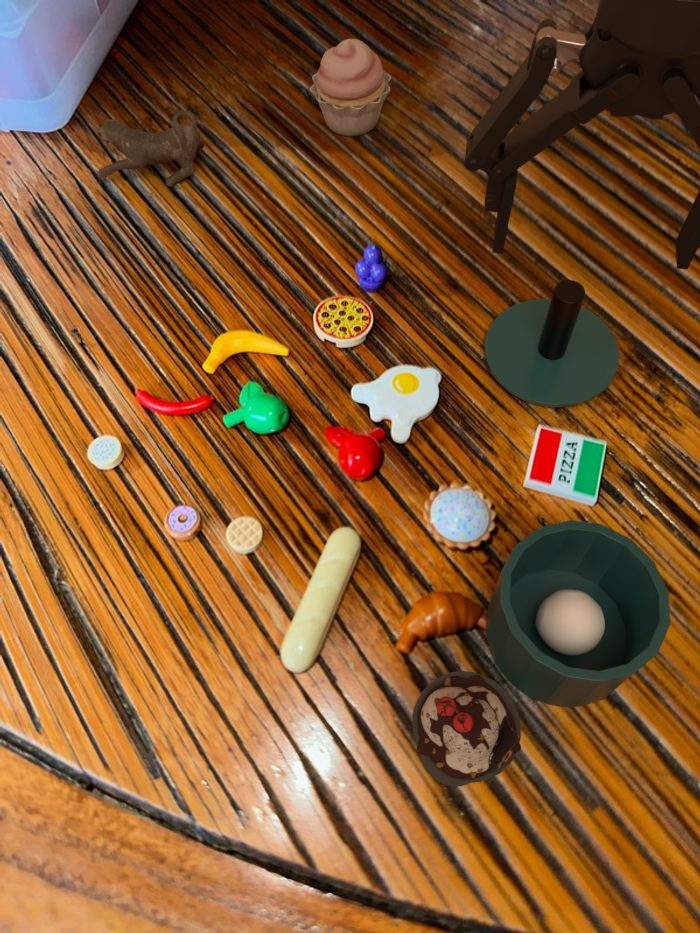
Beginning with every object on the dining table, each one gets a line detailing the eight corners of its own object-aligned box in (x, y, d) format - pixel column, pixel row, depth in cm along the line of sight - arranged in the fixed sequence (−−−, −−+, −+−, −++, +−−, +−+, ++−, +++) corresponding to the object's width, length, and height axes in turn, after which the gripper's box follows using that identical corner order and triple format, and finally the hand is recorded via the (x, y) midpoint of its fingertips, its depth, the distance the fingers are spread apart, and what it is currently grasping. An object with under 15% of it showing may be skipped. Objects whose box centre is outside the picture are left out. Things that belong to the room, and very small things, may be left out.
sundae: (392, 724, 57) (396, 676, 44) (474, 690, 58) (501, 633, 45) (428, 814, 54) (443, 792, 41) (514, 777, 55) (556, 743, 42)
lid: (615, 312, 75) (643, 243, 67) (617, 418, 69) (647, 357, 61) (487, 300, 76) (500, 231, 68) (478, 403, 70) (491, 341, 62)
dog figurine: (211, 152, 89) (197, 93, 82) (206, 186, 86) (192, 129, 79) (109, 154, 89) (87, 97, 82) (101, 189, 86) (78, 132, 80)
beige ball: (593, 605, 60) (610, 583, 56) (597, 666, 58) (614, 648, 53) (530, 600, 61) (542, 577, 56) (531, 660, 58) (543, 642, 54)
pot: (631, 574, 62) (666, 531, 54) (635, 717, 56) (673, 692, 49) (490, 556, 63) (505, 512, 56) (480, 695, 58) (495, 666, 50)
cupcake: (301, 138, 89) (293, 57, 80) (327, 89, 93) (322, 7, 85) (377, 153, 87) (377, 72, 79) (400, 103, 92) (403, 20, 83)
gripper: (931, -82, 40) (754, 225, 58) (452, -102, 42) (429, 199, 61) (965, 2, 36) (765, 301, 55) (440, -25, 39) (419, 270, 57)
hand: (588, 248), depth 58 cm, fingers open, 13 cm apart
